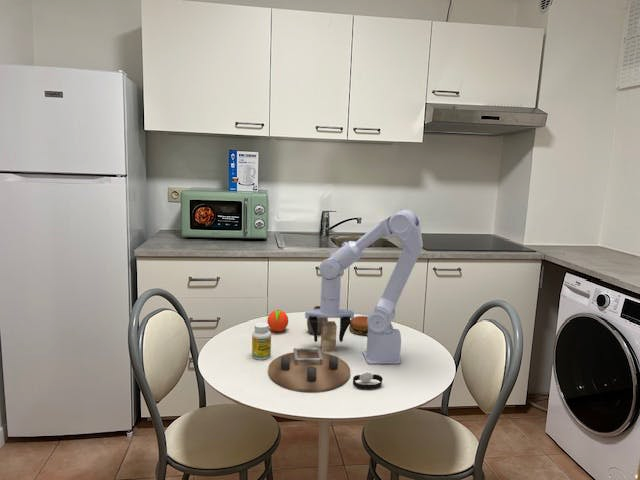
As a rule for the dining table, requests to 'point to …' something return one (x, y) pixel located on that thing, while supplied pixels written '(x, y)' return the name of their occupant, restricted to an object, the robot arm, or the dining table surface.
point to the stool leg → (328, 336)
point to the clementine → (277, 320)
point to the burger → (359, 325)
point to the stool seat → (309, 371)
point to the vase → (318, 323)
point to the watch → (367, 380)
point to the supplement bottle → (261, 341)
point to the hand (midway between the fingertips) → (328, 340)
